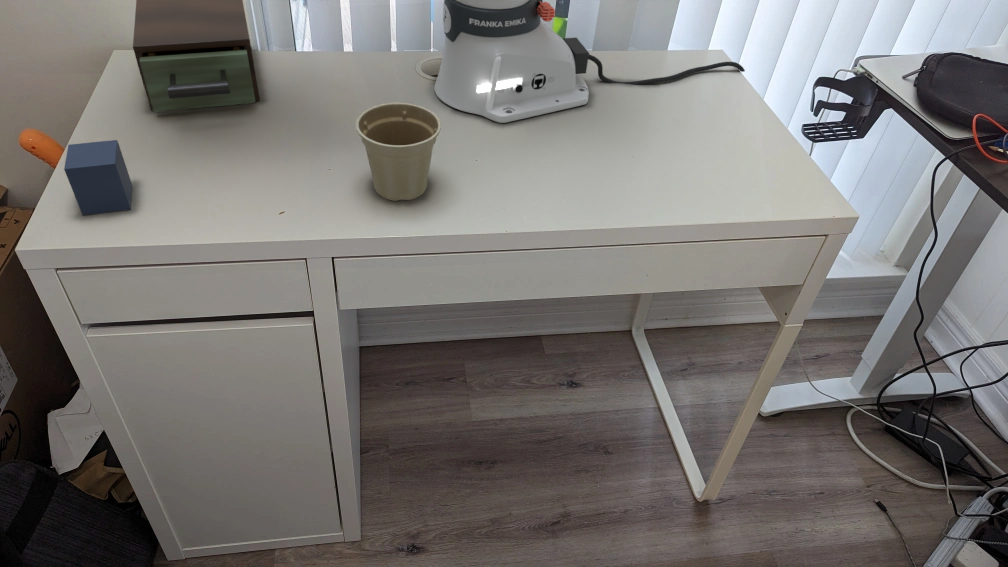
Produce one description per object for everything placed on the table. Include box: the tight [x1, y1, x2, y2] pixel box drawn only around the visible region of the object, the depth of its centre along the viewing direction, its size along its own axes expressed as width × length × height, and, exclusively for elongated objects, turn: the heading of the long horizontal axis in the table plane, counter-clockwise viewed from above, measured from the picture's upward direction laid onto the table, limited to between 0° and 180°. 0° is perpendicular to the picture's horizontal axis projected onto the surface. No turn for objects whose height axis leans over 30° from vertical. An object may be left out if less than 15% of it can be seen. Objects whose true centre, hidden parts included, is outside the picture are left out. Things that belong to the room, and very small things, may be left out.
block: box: [63, 139, 133, 216], centre depth 78 cm, size 5×5×6 cm
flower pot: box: [355, 102, 442, 202], centre depth 83 cm, size 9×9×9 cm
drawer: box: [140, 46, 257, 113], centre depth 96 cm, size 20×13×7 cm, turn 19°
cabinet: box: [132, 0, 261, 111], centre depth 99 cm, size 16×14×9 cm
